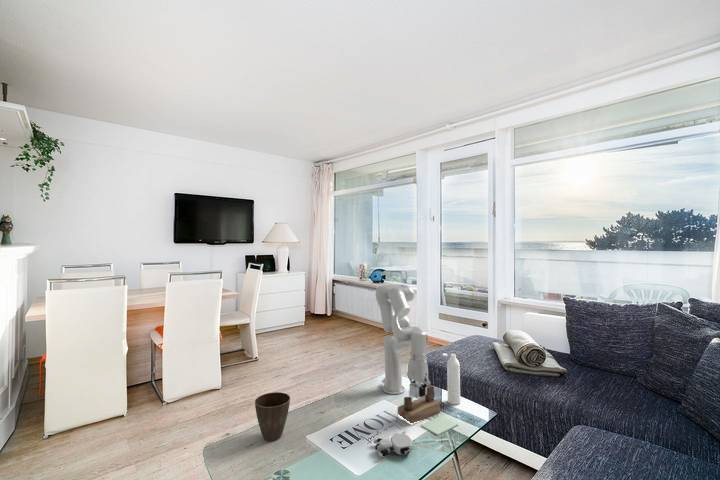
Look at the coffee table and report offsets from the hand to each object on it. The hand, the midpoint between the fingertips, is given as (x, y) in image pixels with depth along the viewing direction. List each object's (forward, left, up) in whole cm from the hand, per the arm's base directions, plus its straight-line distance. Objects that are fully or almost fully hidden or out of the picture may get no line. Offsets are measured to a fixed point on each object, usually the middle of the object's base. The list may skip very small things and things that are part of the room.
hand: (418, 393), depth 166 cm
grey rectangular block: (0, 0, 0) cm, 0 cm away
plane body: (+1, 0, -10) cm, 10 cm away
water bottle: (+1, +24, -10) cm, 26 cm away
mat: (+13, 0, -10) cm, 17 cm away
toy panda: (+15, -30, -11) cm, 35 cm away
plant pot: (-25, -64, -10) cm, 70 cm away
